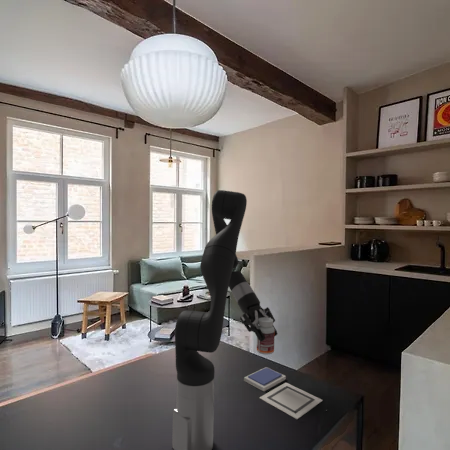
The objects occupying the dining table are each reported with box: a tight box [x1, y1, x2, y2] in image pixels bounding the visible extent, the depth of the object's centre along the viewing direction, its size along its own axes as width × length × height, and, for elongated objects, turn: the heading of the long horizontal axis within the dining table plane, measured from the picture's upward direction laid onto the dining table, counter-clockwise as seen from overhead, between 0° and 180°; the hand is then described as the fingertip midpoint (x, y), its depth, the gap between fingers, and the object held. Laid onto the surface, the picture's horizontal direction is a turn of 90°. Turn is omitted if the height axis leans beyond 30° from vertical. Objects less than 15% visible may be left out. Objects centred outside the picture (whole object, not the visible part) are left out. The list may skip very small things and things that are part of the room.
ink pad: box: [243, 366, 287, 392], centre depth 109 cm, size 12×9×2 cm
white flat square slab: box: [258, 382, 323, 420], centre depth 98 cm, size 14×14×1 cm
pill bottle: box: [256, 317, 276, 356], centre depth 109 cm, size 6×6×11 cm
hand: (269, 337), depth 108 cm, fingers closed on pill bottle, 6 cm apart
